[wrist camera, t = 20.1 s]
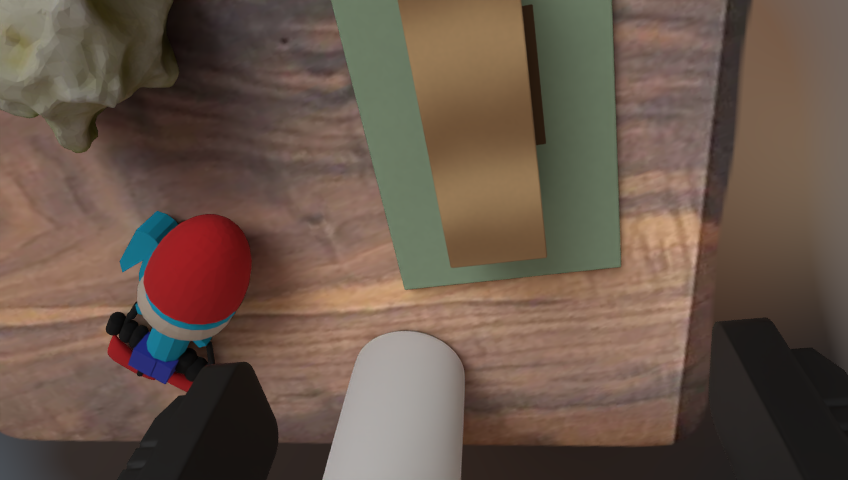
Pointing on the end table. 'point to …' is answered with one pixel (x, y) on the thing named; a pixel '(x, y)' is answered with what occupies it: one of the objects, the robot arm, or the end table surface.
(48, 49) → the fruit
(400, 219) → the mat
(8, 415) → the end table surface
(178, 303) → the toy figure
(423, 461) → the can
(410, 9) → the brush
